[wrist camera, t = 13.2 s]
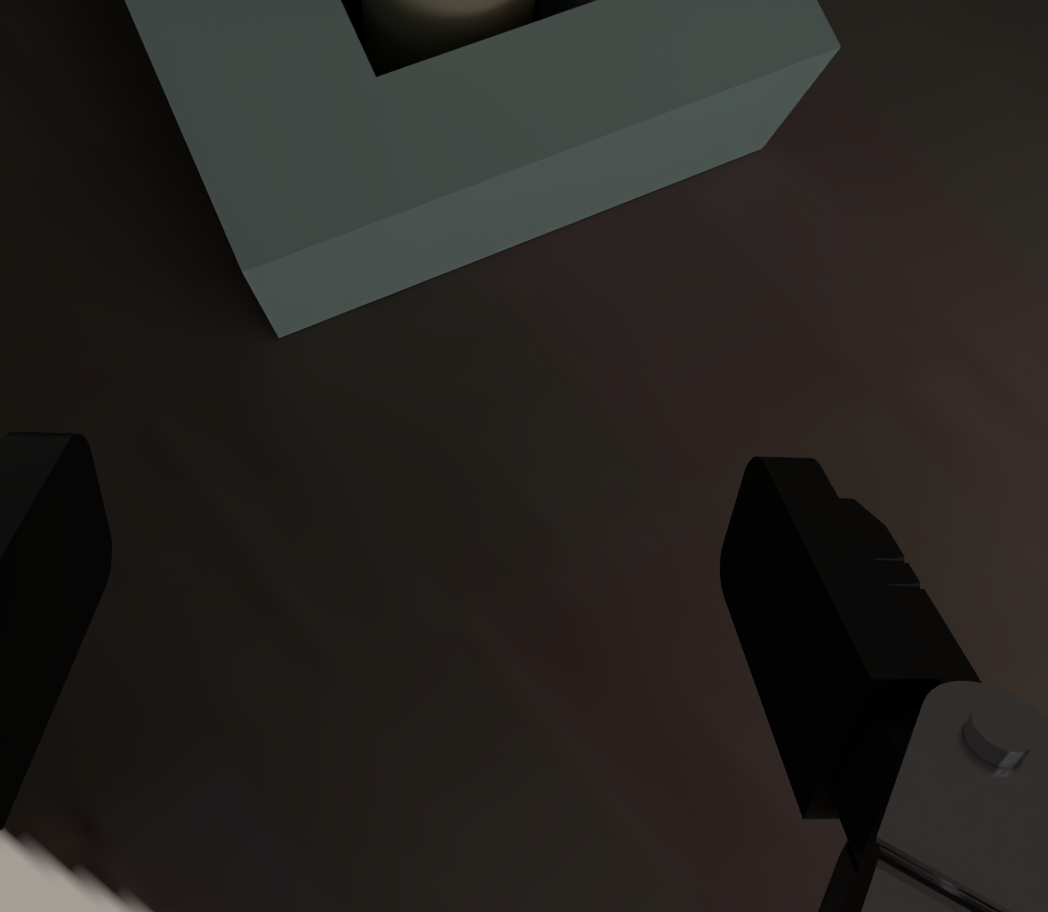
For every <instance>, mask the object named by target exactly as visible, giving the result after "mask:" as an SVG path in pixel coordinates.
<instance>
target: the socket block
mask: <svg viewBox="0 0 1048 912" xmlns="http://www.w3.org/2000/svg"><path fill="white" fill-rule="evenodd" d="M535 1H536V3H537V5H538V7H539V9H540V12H541V14H542V16H543V18H544V19H542V20H539V21H536V22H533V23H530V24H528V25H525V26H522V27H519V28H516V29H513V30H510V31H507V32H505V33H502V34H499V35H496V36H493V37H490V38H487V39H484V40H482V41H479V42H476V43H473V44H470V45H467V46H464V47H461V48H459V49H456V50H453V51H450V52H447V53H444V54H441V55H439V56H436V57H433V58H430V59H427V60H424V61H421V62H418V63H416V64H413V65H410V66H407V67H404V68H401V69H398V70H395V71H393V72H390V73H387V74H384V75H381V76H378V77H376V76H375V74H374V72H373V69H372V67H371V65H370V63H369V61H368V59H367V56H366V54H365V52H364V50H363V48H362V45H361V43H360V41H359V39H358V37H357V34H356V32H355V30H354V28H353V26H352V24H351V21H350V19H349V17H348V15H347V13H346V10H345V8H344V6H343V4H342V2H341V0H125V2H126V4H127V7H128V9H129V11H130V14H131V16H132V18H133V21H134V23H135V25H136V28H137V30H138V32H139V35H140V37H141V39H142V42H143V44H144V46H145V48H146V51H147V53H148V55H149V58H150V60H151V62H152V65H153V67H154V69H155V72H156V74H157V76H158V79H159V81H160V83H161V85H162V88H163V90H164V92H165V95H166V97H167V99H168V102H169V104H170V106H171V109H172V111H173V113H174V116H175V118H176V120H177V123H178V125H179V127H180V129H181V132H182V134H183V136H184V139H185V141H186V143H187V146H188V148H189V150H190V153H191V155H192V157H193V160H194V162H195V164H196V166H197V169H198V171H199V173H200V176H201V178H202V180H203V183H204V185H205V187H206V190H207V192H208V194H209V197H210V199H211V201H212V204H213V206H214V208H215V210H216V213H217V215H218V217H219V220H220V222H221V224H222V227H223V229H224V231H225V234H226V236H227V238H228V241H229V243H230V245H231V247H232V250H233V252H234V254H235V257H236V259H237V261H238V264H239V266H240V268H241V271H242V273H243V275H244V276H245V278H246V280H247V282H248V284H249V285H250V287H251V289H252V291H253V293H254V294H255V296H256V298H257V300H258V302H259V303H260V305H261V307H262V309H263V311H264V312H265V314H266V316H267V318H268V320H269V321H270V323H271V325H272V327H273V329H274V330H275V332H276V334H277V336H278V338H281V337H283V336H286V335H288V334H291V333H293V332H296V331H298V330H301V329H304V328H306V327H309V326H311V325H314V324H316V323H319V322H321V321H324V320H327V319H329V318H332V317H334V316H337V315H339V314H342V313H344V312H347V311H349V310H352V309H355V308H357V307H360V306H362V305H365V304H367V303H370V302H372V301H375V300H377V299H380V298H383V297H385V296H388V295H390V294H393V293H395V292H398V291H400V290H403V289H405V288H408V287H411V286H413V285H416V284H418V283H421V282H423V281H426V280H428V279H431V278H434V277H436V276H439V275H441V274H444V273H446V272H449V271H451V270H454V269H456V268H459V267H462V266H464V265H467V264H469V263H472V262H474V261H477V260H479V259H482V258H484V257H487V256H490V255H492V254H495V253H497V252H500V251H502V250H505V249H507V248H510V247H512V246H515V245H518V244H520V243H523V242H525V241H528V240H530V239H533V238H535V237H538V236H541V235H543V234H546V233H548V232H551V231H553V230H556V229H558V228H561V227H563V226H566V225H569V224H571V223H574V222H576V221H579V220H581V219H584V218H586V217H589V216H591V215H594V214H597V213H599V212H602V211H604V210H607V209H609V208H612V207H614V206H617V205H619V204H622V203H625V202H627V201H630V200H632V199H635V198H637V197H640V196H642V195H645V194H647V193H650V192H653V191H655V190H658V189H660V188H663V187H665V186H668V185H670V184H673V183H676V182H678V181H681V180H683V179H686V178H688V177H691V176H693V175H696V174H698V173H701V172H704V171H706V170H709V169H711V168H714V167H716V166H719V165H721V164H724V163H726V162H729V161H732V160H734V159H737V158H739V157H742V156H744V155H747V154H749V153H752V152H754V151H757V150H760V149H762V148H763V147H764V145H765V144H766V143H767V142H768V140H769V139H770V138H771V136H772V135H773V134H774V133H775V131H776V130H777V129H778V127H779V126H780V125H781V124H782V122H783V121H784V120H785V118H786V117H787V116H788V114H789V113H790V112H791V111H792V109H793V108H794V107H795V105H796V104H797V103H798V102H799V100H800V99H801V98H802V96H803V95H804V94H805V92H806V91H807V90H808V89H809V87H810V86H811V85H812V83H813V82H814V81H815V80H816V78H817V77H818V76H819V74H820V73H821V72H822V71H823V69H824V68H825V67H826V65H827V64H828V63H829V61H830V60H831V59H832V58H833V56H834V55H835V54H836V52H837V51H838V50H839V49H840V47H841V46H840V44H839V42H838V40H837V38H836V36H835V34H834V32H833V30H832V29H831V27H830V25H829V23H828V21H827V19H826V17H825V15H824V13H823V11H822V9H821V7H820V5H819V3H818V1H817V0H535Z"/></svg>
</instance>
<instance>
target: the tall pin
mask: <svg viewBox="0 0 1048 912" xmlns="http://www.w3.org/2000/svg"><path fill="white" fill-rule="evenodd" d="M361 4H362V14H363V24H364V34H365V44H366V54H367V59H368V61H369V63H370V65H371V67H372V69H373V72H374V74H375V76H376V77H378V76H381V75H384V74H387V73H390V72H393V71H395V70H398V69H401V68H404V67H407V66H410V65H413V64H416V63H418V62H421V61H424V60H427V59H430V58H433V57H436V56H439V55H441V54H444V53H447V52H450V51H453V50H456V49H459V48H461V47H464V46H467V45H470V44H473V43H476V42H479V41H482V40H484V39H487V38H490V37H493V36H496V35H499V34H502V33H505V32H507V31H510V30H513V29H516V28H519V27H522V26H525V25H528V24H530V23H531V21H532V16H533V11H534V5H535V0H361Z"/></svg>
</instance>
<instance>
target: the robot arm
mask: <svg viewBox="0 0 1048 912" xmlns="http://www.w3.org/2000/svg"><path fill="white" fill-rule="evenodd" d="M111 558H112V541H111V534H110V529H109V525H108V520H107V516H106V512H105V508H104V504H103V499H102V495H101V491H100V487H99V482H98V478H97V474H96V470H95V466H94V461H93V457H92V453H91V449H90V446H89V444H88V441H87V440H86V438H85V437H84V436H83V435H81V434H70V433H38V432H10V433H8V434H6V435H5V436H4V437H3V439H2V440H1V441H0V830H2V829H3V827H4V824H5V822H6V820H7V817H8V815H9V813H10V810H11V808H12V806H13V803H14V801H15V799H16V796H17V794H18V791H19V789H20V787H21V784H22V782H23V780H24V777H25V775H26V773H27V770H28V768H29V766H30V763H31V761H32V759H33V756H34V754H35V752H36V749H37V747H38V744H39V742H40V740H41V737H42V735H43V733H44V730H45V728H46V726H47V723H48V721H49V719H50V716H51V714H52V712H53V709H54V707H55V705H56V702H57V700H58V697H59V695H60V693H61V690H62V688H63V686H64V683H65V681H66V679H67V676H68V674H69V672H70V669H71V667H72V665H73V662H74V660H75V658H76V655H77V653H78V650H79V648H80V646H81V643H82V641H83V639H84V636H85V634H86V632H87V629H88V627H89V625H90V622H91V620H92V618H93V615H94V613H95V611H96V608H97V606H98V603H99V601H100V599H101V596H102V594H103V592H104V589H105V587H106V584H107V581H108V578H109V573H110V567H111ZM720 578H721V586H722V591H723V595H724V598H725V601H726V604H727V606H728V609H729V612H730V615H731V618H732V621H733V623H734V626H735V629H736V632H737V635H738V637H739V640H740V643H741V646H742V649H743V651H744V654H745V657H746V660H747V663H748V666H749V668H750V671H751V674H752V677H753V680H754V682H755V685H756V688H757V691H758V694H759V696H760V699H761V702H762V705H763V708H764V711H765V713H766V716H767V719H768V722H769V725H770V727H771V730H772V733H773V736H774V739H775V741H776V744H777V747H778V750H779V753H780V755H781V758H782V761H783V764H784V767H785V770H786V772H787V775H788V778H789V781H790V784H791V786H792V789H793V792H794V795H795V798H796V800H797V803H798V806H799V809H800V812H801V815H802V817H803V819H840V821H841V823H842V826H843V828H844V831H845V833H846V836H847V839H848V840H847V842H846V844H845V846H844V847H843V849H842V851H841V853H840V855H839V858H838V861H837V863H836V866H835V869H834V871H833V874H832V877H831V879H830V882H829V884H828V887H827V890H826V892H825V895H824V898H823V900H822V903H821V906H820V908H819V911H818V912H1048V720H1047V719H1046V718H1045V717H1044V716H1043V715H1042V714H1041V713H1040V712H1038V711H1037V710H1036V709H1035V708H1033V707H1032V706H1031V705H1029V704H1028V703H1026V702H1025V701H1023V700H1021V699H1020V698H1018V697H1016V696H1014V695H1012V694H1010V693H1009V692H1006V691H1004V690H1002V689H999V688H997V687H994V686H990V685H987V684H983V683H982V682H981V681H980V679H979V678H978V676H977V674H976V673H975V671H974V669H973V668H972V666H971V664H970V663H969V661H968V660H967V658H966V656H965V655H964V653H963V651H962V650H961V648H960V647H959V645H958V643H957V642H956V640H955V638H954V637H953V635H952V633H951V632H950V630H949V629H948V627H947V625H946V624H945V622H944V620H943V619H942V617H941V615H940V614H939V612H938V611H937V609H936V607H935V606H934V604H933V602H932V601H931V599H930V598H929V596H928V594H927V593H926V591H925V589H920V581H919V580H918V578H917V576H916V575H915V573H914V571H913V570H912V568H911V567H910V565H909V563H905V562H904V555H903V553H902V552H901V550H900V549H899V547H898V545H897V544H896V542H895V540H894V539H893V537H892V536H891V534H890V532H889V531H888V529H887V527H886V526H885V525H884V524H883V523H882V522H880V521H879V520H878V519H877V518H876V517H874V516H873V515H872V514H871V513H870V512H869V511H867V510H866V509H865V508H864V507H863V506H862V505H860V504H859V503H858V502H857V501H856V500H854V499H844V498H839V497H838V495H837V494H836V492H835V490H834V488H833V487H832V485H831V483H830V481H829V480H828V478H827V476H826V474H825V473H824V471H823V469H822V467H821V466H820V464H819V463H818V462H817V461H816V460H815V459H813V458H787V457H753V458H752V459H751V460H750V461H749V463H748V465H747V467H746V469H745V472H744V475H743V479H742V482H741V485H740V489H739V492H738V496H737V499H736V502H735V506H734V509H733V512H732V516H731V519H730V523H729V526H728V529H727V533H726V536H725V539H724V543H723V547H722V551H721V559H720Z"/></svg>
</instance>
